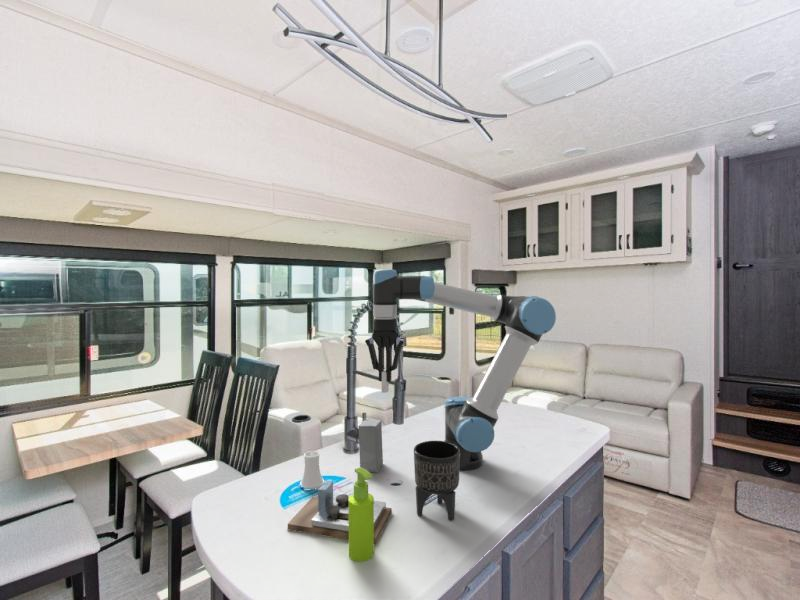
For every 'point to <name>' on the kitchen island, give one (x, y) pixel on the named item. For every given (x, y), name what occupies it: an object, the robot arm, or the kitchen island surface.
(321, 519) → the slider knob panel
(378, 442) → the skincare box
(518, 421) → the kitchen island surface
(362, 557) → the soap dispenser
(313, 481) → the salt shaker
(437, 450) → the planter
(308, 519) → the board
